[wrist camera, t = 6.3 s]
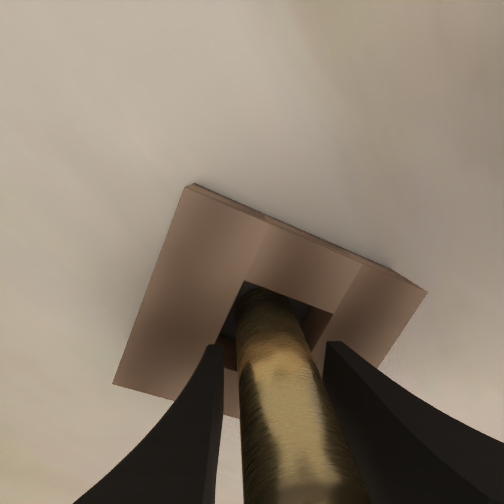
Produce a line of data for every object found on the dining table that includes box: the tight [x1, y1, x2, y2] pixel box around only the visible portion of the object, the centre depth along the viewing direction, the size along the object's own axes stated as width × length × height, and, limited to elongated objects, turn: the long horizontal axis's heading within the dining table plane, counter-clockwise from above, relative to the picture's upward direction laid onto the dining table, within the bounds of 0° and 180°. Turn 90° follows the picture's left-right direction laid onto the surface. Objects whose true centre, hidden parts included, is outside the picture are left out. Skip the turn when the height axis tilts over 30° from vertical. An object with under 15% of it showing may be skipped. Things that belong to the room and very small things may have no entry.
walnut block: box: [112, 183, 428, 419], centre depth 14 cm, size 12×10×3 cm
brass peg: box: [235, 288, 372, 504], centre depth 11 cm, size 3×3×9 cm
